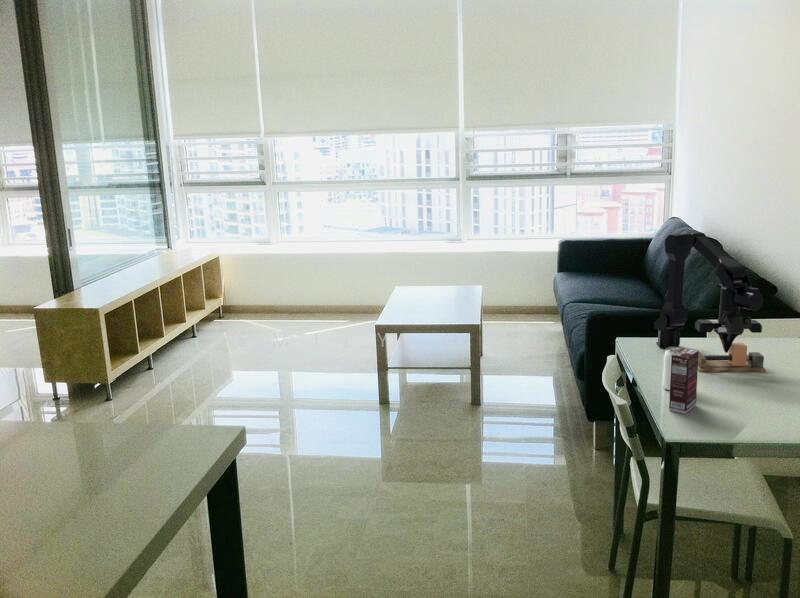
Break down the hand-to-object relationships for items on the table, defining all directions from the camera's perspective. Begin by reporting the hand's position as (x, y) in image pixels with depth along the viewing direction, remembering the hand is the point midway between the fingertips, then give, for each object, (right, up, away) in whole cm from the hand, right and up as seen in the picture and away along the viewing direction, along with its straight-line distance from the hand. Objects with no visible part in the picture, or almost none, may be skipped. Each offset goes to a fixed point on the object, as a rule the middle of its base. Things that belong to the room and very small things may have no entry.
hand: (726, 352), depth 238 cm
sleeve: (+4, -4, 0) cm, 5 cm away
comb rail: (+1, -5, +1) cm, 5 cm away
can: (-22, -10, -16) cm, 29 cm away
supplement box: (-26, -13, -32) cm, 43 cm away
